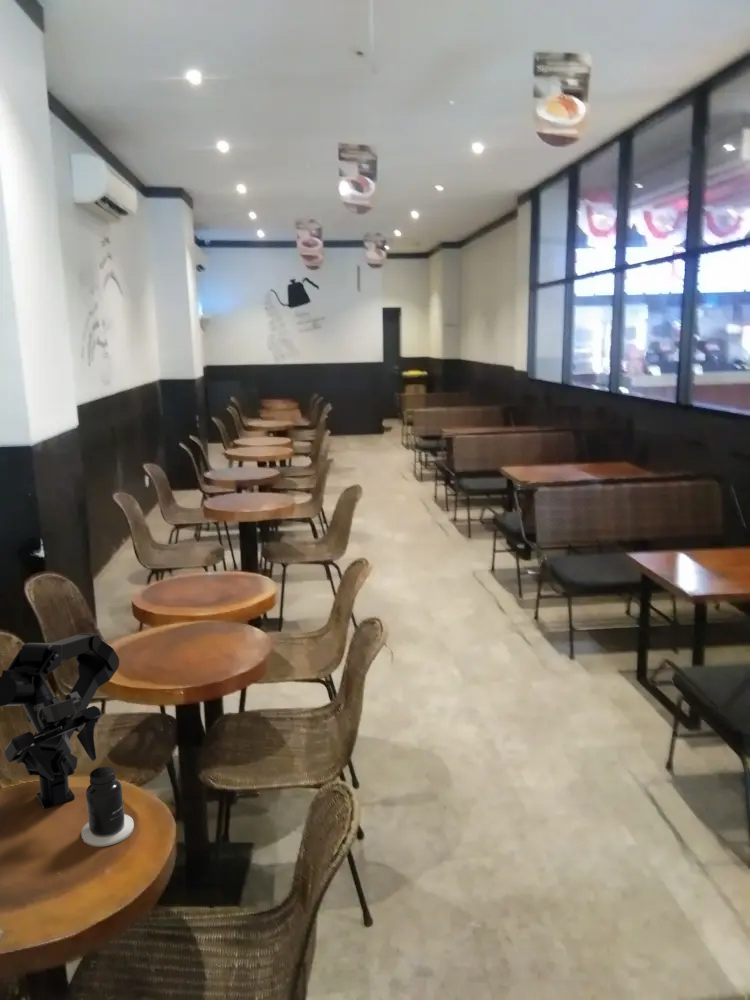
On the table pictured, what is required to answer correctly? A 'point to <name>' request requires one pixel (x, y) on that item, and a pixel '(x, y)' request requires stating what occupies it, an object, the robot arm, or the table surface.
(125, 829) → the coaster
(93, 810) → the supplement bottle
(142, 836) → the table surface
